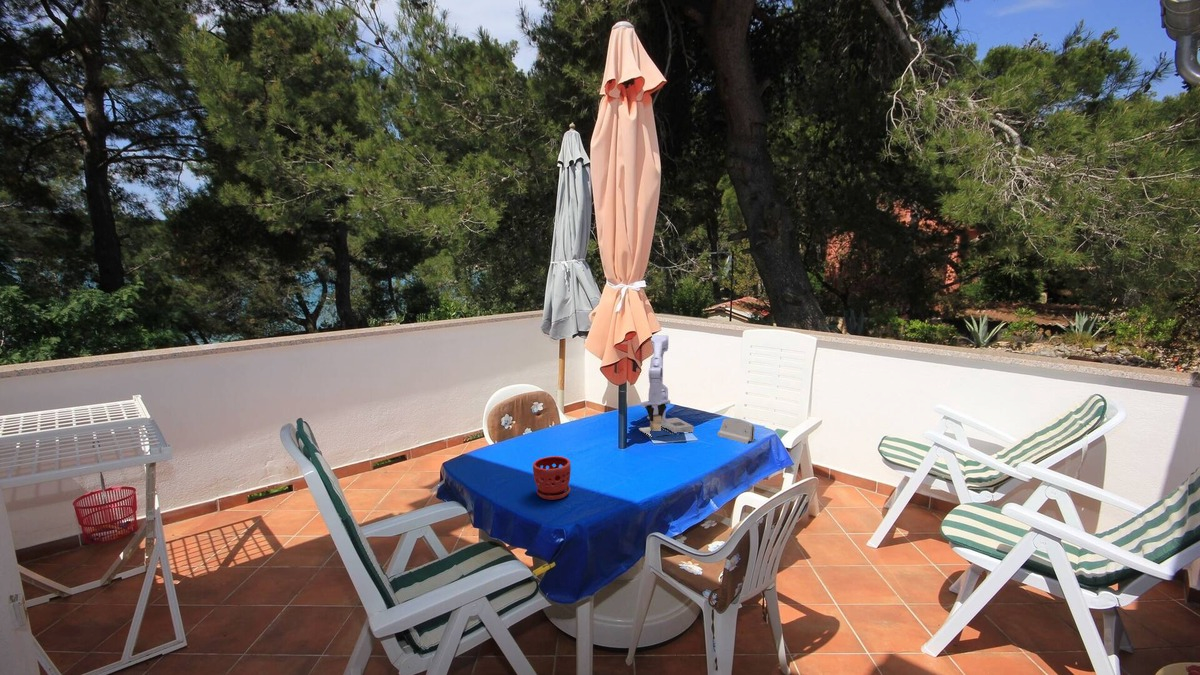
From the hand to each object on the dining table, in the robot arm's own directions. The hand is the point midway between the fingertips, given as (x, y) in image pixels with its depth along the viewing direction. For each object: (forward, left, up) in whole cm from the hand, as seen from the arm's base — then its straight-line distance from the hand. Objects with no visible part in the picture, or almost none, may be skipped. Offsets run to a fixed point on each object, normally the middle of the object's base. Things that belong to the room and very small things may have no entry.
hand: (655, 420), depth 261 cm
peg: (0, 0, -5) cm, 5 cm away
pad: (-1, 0, -6) cm, 6 cm away
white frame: (-2, +12, -6) cm, 14 cm away
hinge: (+21, +31, -7) cm, 38 cm away
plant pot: (+49, -65, -6) cm, 82 cm away
